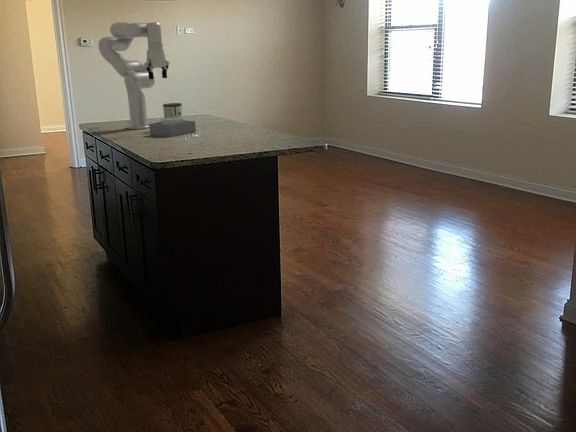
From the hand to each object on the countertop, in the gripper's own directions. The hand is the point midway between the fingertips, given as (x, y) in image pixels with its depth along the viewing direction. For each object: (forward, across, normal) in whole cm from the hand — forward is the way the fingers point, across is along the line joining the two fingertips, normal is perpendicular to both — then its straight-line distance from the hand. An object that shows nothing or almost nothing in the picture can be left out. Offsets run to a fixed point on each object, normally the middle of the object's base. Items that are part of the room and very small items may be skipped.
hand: (158, 78), depth 348 cm
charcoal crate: (+28, +8, +17) cm, 34 cm away
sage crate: (+27, +8, +17) cm, 33 cm away
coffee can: (+28, -6, +3) cm, 29 cm away
